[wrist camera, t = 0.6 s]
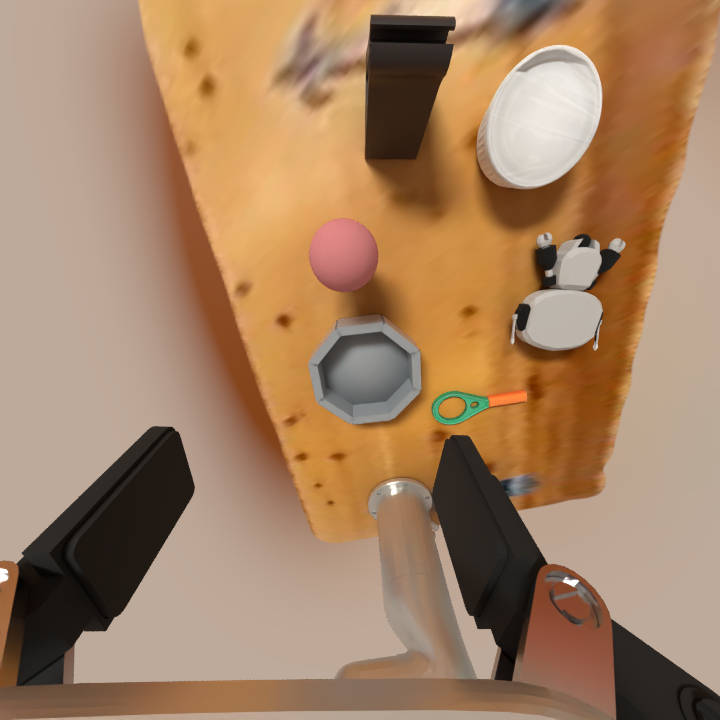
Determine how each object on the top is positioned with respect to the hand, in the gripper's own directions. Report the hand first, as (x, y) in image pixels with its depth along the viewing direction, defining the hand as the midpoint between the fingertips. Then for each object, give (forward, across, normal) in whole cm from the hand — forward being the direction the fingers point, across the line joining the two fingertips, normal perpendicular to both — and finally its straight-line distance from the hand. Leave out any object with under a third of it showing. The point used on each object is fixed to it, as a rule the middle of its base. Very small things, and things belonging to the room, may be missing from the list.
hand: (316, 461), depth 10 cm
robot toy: (+31, -30, -1) cm, 43 cm away
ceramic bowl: (+31, -4, +11) cm, 33 cm away
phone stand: (+32, -5, -20) cm, 38 cm away
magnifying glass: (+31, -23, +17) cm, 42 cm away
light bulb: (+31, 0, -5) cm, 32 cm away
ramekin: (+32, -20, -18) cm, 42 cm away
